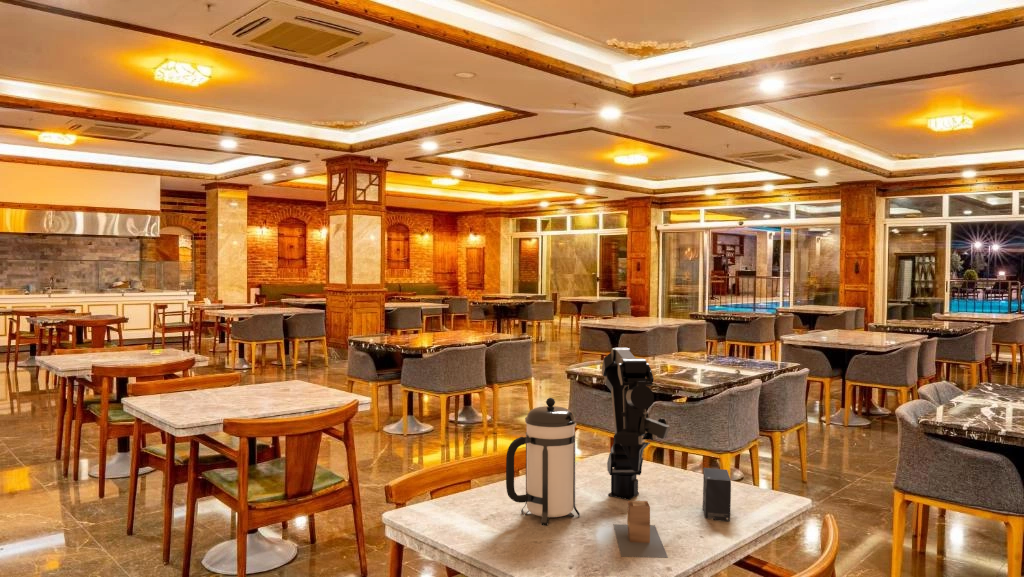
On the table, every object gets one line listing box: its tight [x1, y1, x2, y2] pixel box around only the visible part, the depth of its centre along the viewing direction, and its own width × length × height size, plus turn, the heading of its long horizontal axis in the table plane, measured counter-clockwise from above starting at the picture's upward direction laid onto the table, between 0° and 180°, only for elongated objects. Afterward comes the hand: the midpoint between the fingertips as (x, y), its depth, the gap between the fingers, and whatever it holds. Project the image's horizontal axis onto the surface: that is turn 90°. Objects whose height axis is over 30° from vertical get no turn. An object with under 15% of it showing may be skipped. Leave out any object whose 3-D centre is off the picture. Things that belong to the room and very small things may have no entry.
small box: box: [701, 467, 732, 522], centre depth 181 cm, size 11×6×10 cm, turn 168°
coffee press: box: [505, 397, 581, 527], centre depth 178 cm, size 17×16×30 cm
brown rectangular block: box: [626, 500, 651, 543], centre depth 163 cm, size 5×5×8 cm
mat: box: [613, 523, 669, 559], centre depth 162 cm, size 20×10×1 cm, turn 177°
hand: (636, 471), depth 178 cm, fingers closed
